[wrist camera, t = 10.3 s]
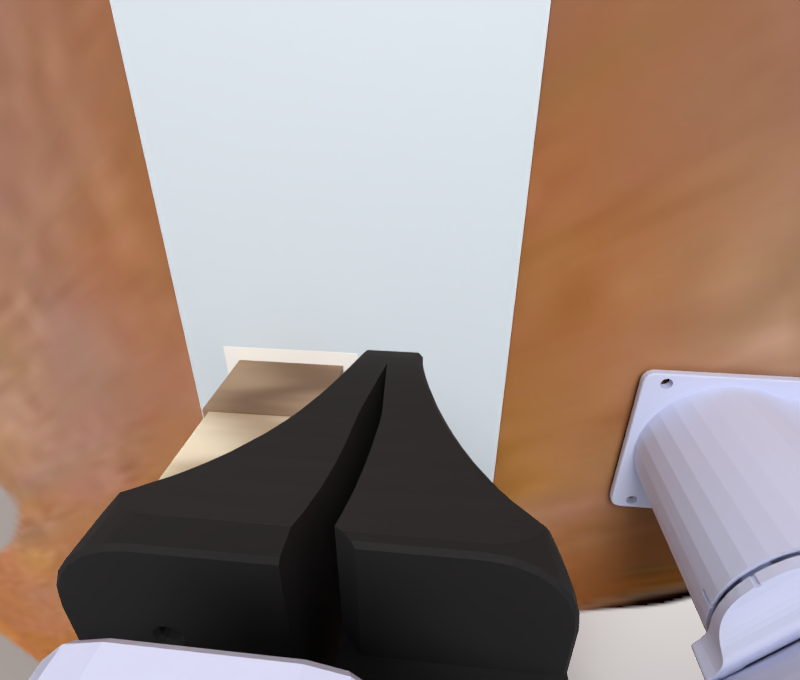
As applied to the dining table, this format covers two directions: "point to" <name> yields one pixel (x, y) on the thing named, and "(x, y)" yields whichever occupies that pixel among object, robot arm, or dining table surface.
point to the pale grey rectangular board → (343, 182)
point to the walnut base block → (271, 387)
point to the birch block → (220, 438)
